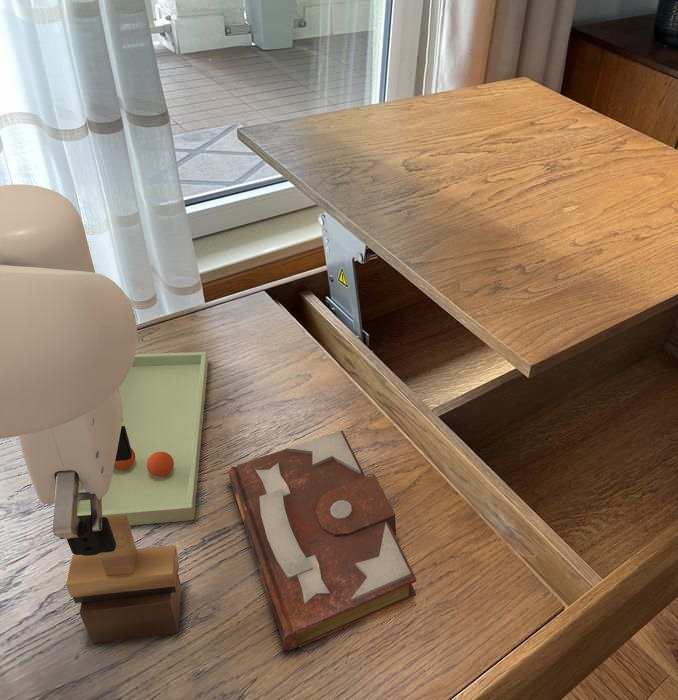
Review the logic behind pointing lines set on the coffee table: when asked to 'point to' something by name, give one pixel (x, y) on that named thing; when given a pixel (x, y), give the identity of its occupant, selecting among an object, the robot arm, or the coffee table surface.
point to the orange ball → (125, 462)
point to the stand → (132, 616)
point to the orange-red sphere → (160, 464)
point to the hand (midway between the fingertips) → (104, 501)
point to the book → (321, 538)
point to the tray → (159, 439)
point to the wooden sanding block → (123, 569)
